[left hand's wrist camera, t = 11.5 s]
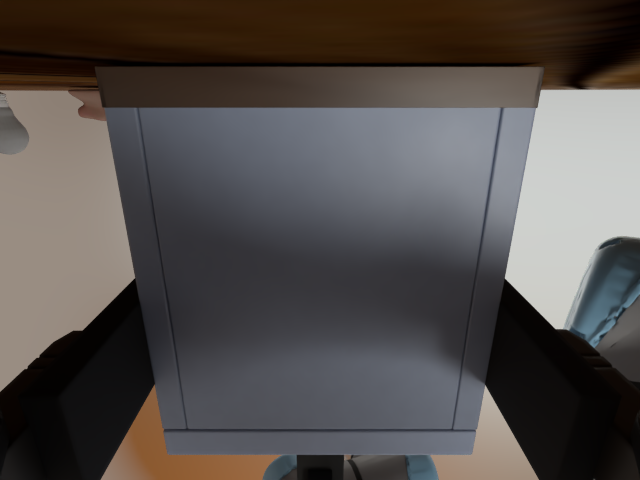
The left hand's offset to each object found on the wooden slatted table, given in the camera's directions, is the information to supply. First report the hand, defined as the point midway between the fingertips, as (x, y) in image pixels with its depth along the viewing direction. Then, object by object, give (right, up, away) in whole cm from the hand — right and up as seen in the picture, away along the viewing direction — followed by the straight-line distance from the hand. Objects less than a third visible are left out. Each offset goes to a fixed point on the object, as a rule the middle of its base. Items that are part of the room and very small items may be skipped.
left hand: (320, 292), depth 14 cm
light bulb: (-52, +26, +49) cm, 77 cm away
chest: (0, +9, +3) cm, 9 cm away
